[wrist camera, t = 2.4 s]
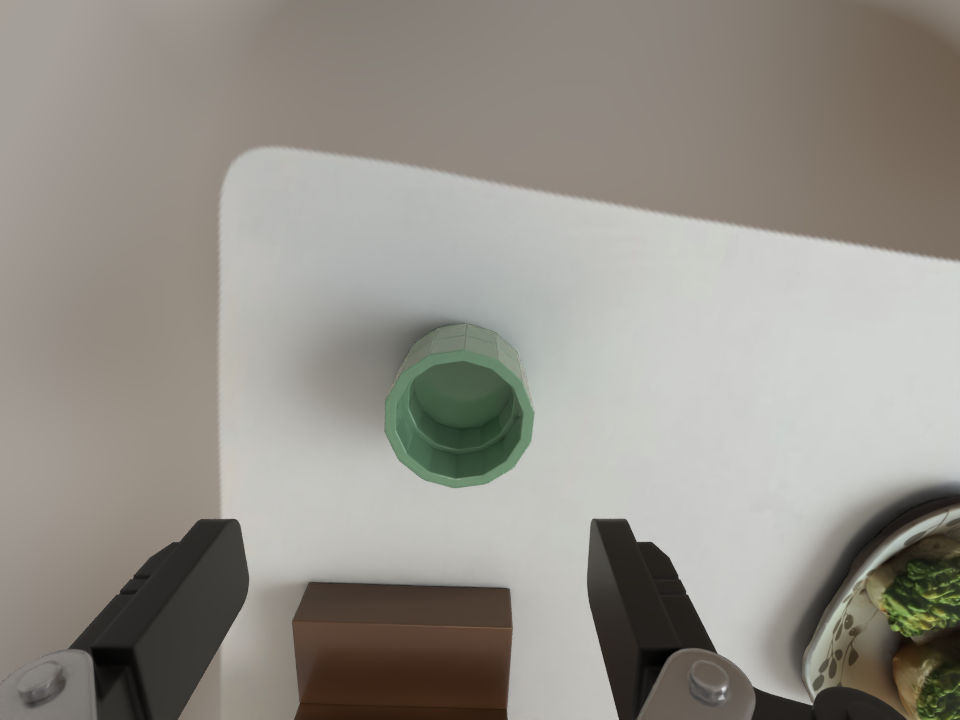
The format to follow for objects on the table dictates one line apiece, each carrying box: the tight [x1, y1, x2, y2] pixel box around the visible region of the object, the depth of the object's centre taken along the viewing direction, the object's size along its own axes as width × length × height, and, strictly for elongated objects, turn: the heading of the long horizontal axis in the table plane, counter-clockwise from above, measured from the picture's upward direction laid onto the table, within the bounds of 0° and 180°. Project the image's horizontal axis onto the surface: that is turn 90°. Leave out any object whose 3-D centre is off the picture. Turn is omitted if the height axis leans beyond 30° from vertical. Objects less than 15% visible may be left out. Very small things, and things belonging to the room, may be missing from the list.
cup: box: [385, 324, 535, 488], centre depth 25 cm, size 6×6×5 cm
